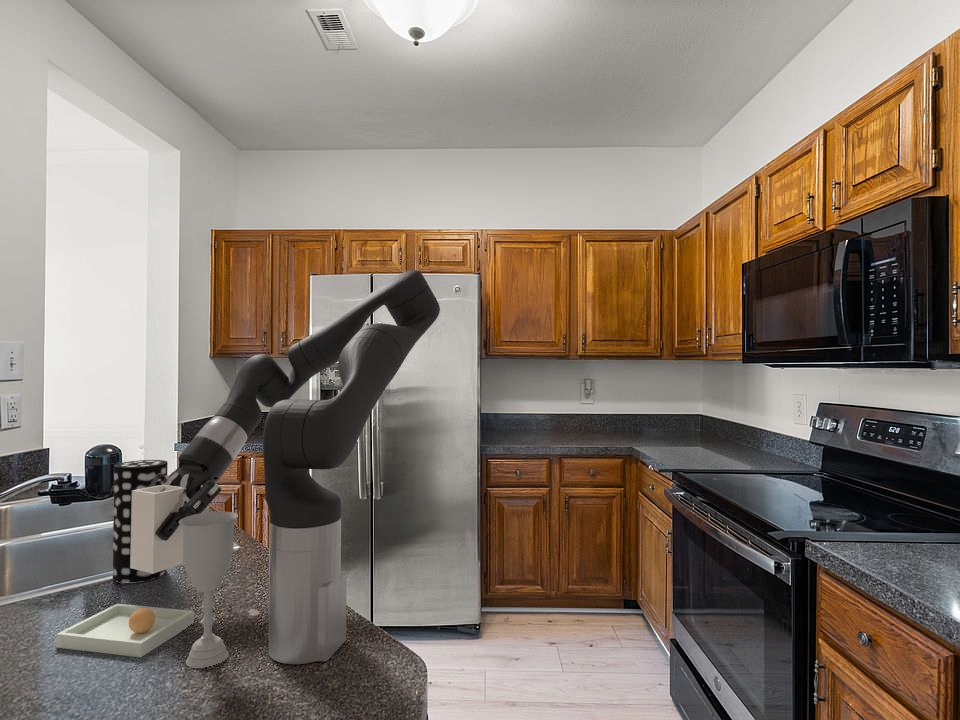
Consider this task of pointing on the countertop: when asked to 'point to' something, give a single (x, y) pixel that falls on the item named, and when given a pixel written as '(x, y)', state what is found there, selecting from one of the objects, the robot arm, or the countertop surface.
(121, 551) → the white-spotted black cylinder
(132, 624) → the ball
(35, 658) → the countertop surface
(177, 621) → the tray
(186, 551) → the chalice
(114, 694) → the countertop surface
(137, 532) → the cup
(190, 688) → the countertop surface
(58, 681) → the countertop surface
